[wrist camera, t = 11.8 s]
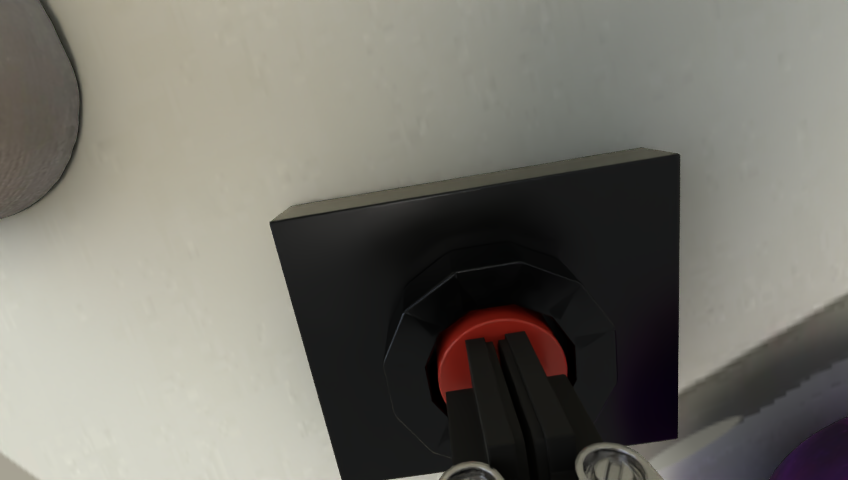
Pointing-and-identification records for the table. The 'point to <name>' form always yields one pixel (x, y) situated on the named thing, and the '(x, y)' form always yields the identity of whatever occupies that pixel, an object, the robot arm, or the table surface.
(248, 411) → the table surface
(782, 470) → the decorative orb
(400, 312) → the button box
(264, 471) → the table surface
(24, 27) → the pillar candle
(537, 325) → the button
